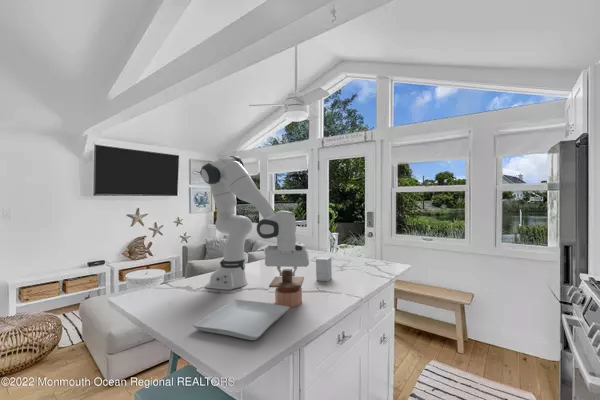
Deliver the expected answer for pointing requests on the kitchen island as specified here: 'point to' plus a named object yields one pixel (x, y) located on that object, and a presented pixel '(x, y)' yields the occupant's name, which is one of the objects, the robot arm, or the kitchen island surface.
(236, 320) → the square plate
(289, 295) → the terracotta bowl
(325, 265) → the supplement box
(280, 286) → the walnut lid
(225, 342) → the kitchen island surface
